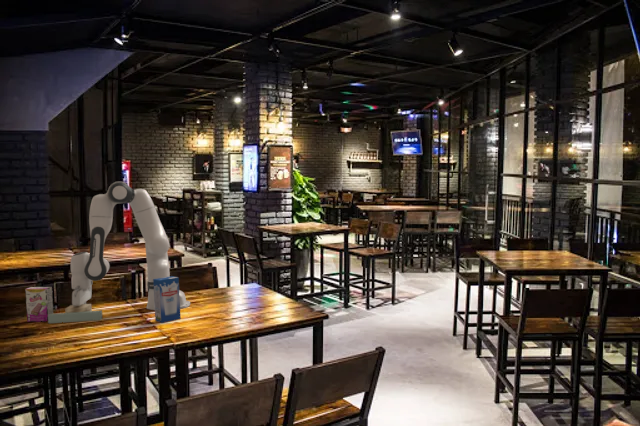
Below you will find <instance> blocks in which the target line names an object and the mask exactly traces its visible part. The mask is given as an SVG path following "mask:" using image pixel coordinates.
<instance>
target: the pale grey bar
mask: <svg viewBox="0 0 640 426" xmlns="http://www.w3.org/2000/svg"><path fill="white" fill-rule="evenodd" d="M102 319H103V310H92V311H85V312H70V313H65V312H59V313H58V312H57V313H53V314H49V315H48V322H47V323H48V324H62V322H63V323H75V322H77V323H78V322H91V321H102Z"/></svg>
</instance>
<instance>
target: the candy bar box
mask: <svg viewBox="0 0 640 426" xmlns="http://www.w3.org/2000/svg"><path fill="white" fill-rule="evenodd" d="M24 290H25V293H24V294H25V303H26V321H27V323H29V322H31V323H33V322H35V323H36V322H37V323H38V322H40V323H41V321H42V323H44V322H45V323H46V321H48V315H49V314H54V304H53V303H54V301H53V300H54V299H53V288H52V286H34V287H33V286H31V287H27V288H25V289H24Z"/></svg>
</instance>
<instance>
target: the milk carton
mask: <svg viewBox="0 0 640 426" xmlns="http://www.w3.org/2000/svg"><path fill="white" fill-rule="evenodd" d="M179 281H180V280H179V277H178V276H173V275H171V276H170V277H164V278H158V279H153V283H154V302H155V310H154V319H155V322H158V323H161V324H163V323H169V322H172V321H177V320H181V319H182V318H181V316H182V315H181V308H180V296H179V290H180V282H179Z"/></svg>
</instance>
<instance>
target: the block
mask: <svg viewBox="0 0 640 426" xmlns="http://www.w3.org/2000/svg"><path fill="white" fill-rule="evenodd" d="M64 311H65V312H64V313H70V312H85V311H93V309H92V303H86V304H82V305H80V306H73V305H72V304H70V305H69V306H67V307H65V309H64Z"/></svg>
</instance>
